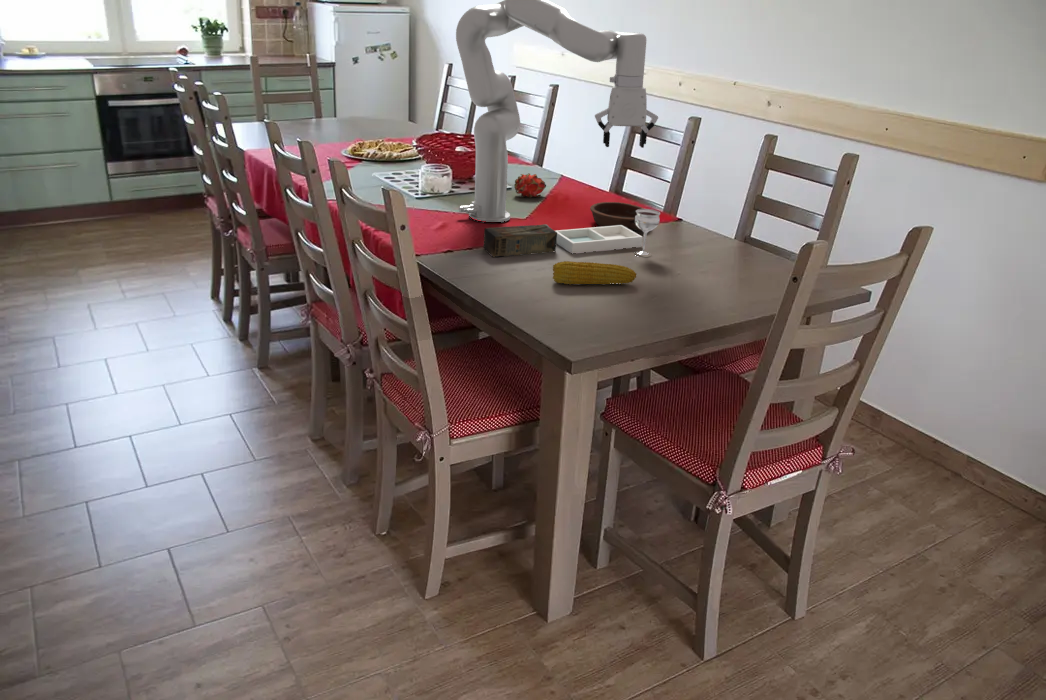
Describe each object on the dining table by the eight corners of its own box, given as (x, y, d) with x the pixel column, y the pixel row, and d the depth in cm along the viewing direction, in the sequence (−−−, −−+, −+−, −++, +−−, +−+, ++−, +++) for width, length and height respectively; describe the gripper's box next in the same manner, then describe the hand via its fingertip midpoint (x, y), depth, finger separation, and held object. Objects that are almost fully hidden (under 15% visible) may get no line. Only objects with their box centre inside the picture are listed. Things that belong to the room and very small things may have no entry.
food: (554, 288, 203) (556, 265, 200) (550, 280, 208) (551, 257, 205) (637, 288, 206) (640, 265, 203) (631, 280, 211) (634, 258, 208)
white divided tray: (572, 253, 227) (572, 243, 225) (553, 240, 236) (553, 230, 235) (641, 246, 236) (642, 236, 234) (620, 234, 245) (621, 224, 244)
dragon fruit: (509, 201, 277) (541, 204, 283) (520, 192, 270) (553, 195, 275) (507, 177, 279) (539, 181, 284) (518, 167, 271) (551, 171, 277)
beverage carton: (557, 253, 227) (559, 229, 225) (492, 259, 220) (493, 235, 217) (544, 244, 234) (546, 221, 231) (481, 250, 226) (482, 226, 223)
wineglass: (627, 255, 228) (632, 213, 223) (634, 248, 234) (639, 207, 228) (651, 259, 226) (657, 217, 221) (657, 253, 231) (663, 211, 226)
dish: (619, 238, 242) (621, 222, 240) (573, 218, 258) (574, 203, 256) (663, 231, 251) (665, 215, 249) (616, 212, 268) (617, 197, 265)
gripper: (598, 83, 218) (594, 148, 225) (663, 84, 219) (657, 149, 226) (595, 79, 225) (591, 143, 232) (658, 80, 226) (652, 144, 233)
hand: (624, 146), depth 229 cm, fingers open, 9 cm apart
